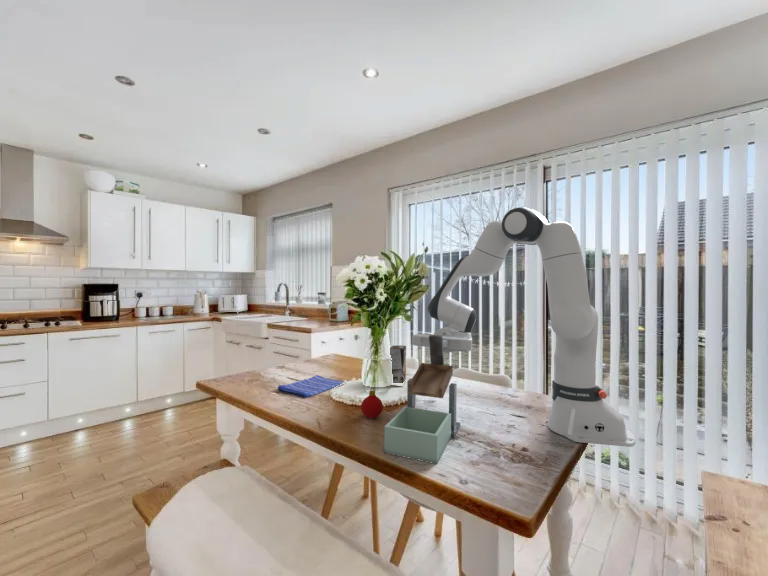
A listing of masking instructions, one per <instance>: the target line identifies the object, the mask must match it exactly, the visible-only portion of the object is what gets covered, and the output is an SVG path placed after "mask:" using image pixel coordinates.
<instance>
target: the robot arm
mask: <svg viewBox="0 0 768 576" xmlns="http://www.w3.org/2000/svg"><path fill="white" fill-rule="evenodd" d="M515 244H520V245H527V246H528V245H529V246H535V245H536V246H537V247H538V248H539V251H540V256H541V261H542V265H543V270H544V271H543V272H544V275H545V280H546V284H547V285H546V286H547V297H548V298H547V300H548V308H549V309H548V311H549V316H550V317H549V319H550V320H549V321H550V326H551V329H552V331H553V332H554V333H555V335H557V339H556V345H555V352H554V354H553V355H554V356H553V357H554V358H553V362H554V363H553V380H552V383H551V398H552V403H551V404H552V405H551V409H550V415H549V418H548V420H547V421H548V422H547V428H548V429H549V430H551V431H552V432H554V433H556V434H559V435H561V436H563V437H565V438H567V439H569V440H570V441H572V442H575V443H584V444H594V445H595V444H597V445H607V446H617V447H629V448H633V447H635V446H636V437H635V436H634V434H633V433H632V432H631V431H630V430H629V429H628V428H626V424H625V423H626V422H625V420H624V418H623V416H622V414H621V413H620V412H619V410H617V409H615V408H614V407H613V406H612V405H610V404H609V403H608V402H607V401H606V398H608V393H606V391H605V390H603V389H602V388H601V387H600V386H599V385H596V358H597V349H598V348H597V347H598V334H599V332H598V331H599V315H598V312H597V310H596V308H595V307H594V306H593V305H592V304H591V298H590V292H589V283H588V275H587V270H586V266H585V262H584V257H583V254H582V253H583V252H582V249H581V245H580V242H579V240H578V237H577V234H576V232H575V230H574V228H573V226H572V225H571V224H570V223H568V222H566V221H556V222H555V221H554V222H550V220H549V219H548V218H547V216H545V215H544V214H541V213H540V212H539V211H537V210H534V209H533V208H531V209H530V208H528V207H523V206H519V207H514V208H512V209H510V210H509V211H507V212H506V213H505V214H504V216H503V218H502V221H500V220H498V221H497V220H494V221H491V222H489V223H488V224H487V225H486V226H485V228H484V229H483V231H482V233H481V234H480V235H479V238H478V239H477V241H476V244H475V246H474V248H473V250H472V251H471V252H470V254H468V255H467V256H465V257H461V258H460V259H458V261H457V262H456V263H455V264H454V266H453V267H452V269H451V270H450V272H449V273H448V275H447V276H446V277H445V280H444V281H443V282H442V284H441V286H440V287H439V288H438V290H437V291H436V293H435V295H434V296H433V297H432V298H431V299H430V301H429V303H428V305H427V311H428V314H429V316H430V318H433V319H435V320H437V321H438V322H439V321H440V322H442V323H444V324H446V325H447V326H444V327H441V328H439V329H437V330H436V331H435V332H434V334H432V333H431V334H429V333H417V334H413V335H412V336H411V337H412V338H411V344H412V345H413V346H416V347H426V348H430V344H429V336H430V335H437V336H442V339H443V354H447V353H448V354H449V353H454V352H471V351H472V350H473V337H472V332H473V330H474V328H475V326H476V323H477V319H478V316H477V312H476V310H475V308H473V307H471V306H469V305H467V304H465V303H463V302H460V301H458V300H456V299H455V298H452V297H451V296H450V294H451V292H452V291H453V290H454V288H455V286H456V285H457V283H458V282H459V280H460V279H462V278H463V277H489V276H492V275H494V274H496V273H497V272H499V270H500V268H501V267H502V265H503V263H504V261H505V259H506V256H507V254H508V252H509V251H510V248H511V247H512V246H514V245H515Z"/></svg>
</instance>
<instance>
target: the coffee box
mask: <svg viewBox="0 0 768 576" xmlns="http://www.w3.org/2000/svg"><path fill="white" fill-rule="evenodd" d="M389 349H390V355H391V358H392V360H391V361H392V374H393V383H403V382H404V381H405V380H406V379H407V346H406V345H391V347H390V348H389ZM405 382H406V381H405Z"/></svg>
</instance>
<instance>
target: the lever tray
mask: <svg viewBox="0 0 768 576" xmlns="http://www.w3.org/2000/svg"><path fill="white" fill-rule="evenodd" d="M429 344H430V347H429V355H430V363H428V362H421V364H420V365H419V367H418V368H417V370H416V371H415V373H414V375H413V377H412V378H411V379H412V380H411V381H410V383H409V385H408V386H409V394H414V395H415V396H421V397H431V398H437V399H443V398H444V396H445V394H446V391H447V389H448V388H449V385H450V382H451V379H452V377H453V373H454V372H453V371H454V370H453V365H447V364H445V361H444V353H443V339H442V336H437V335H434V334H433V335H430V336H429Z"/></svg>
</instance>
